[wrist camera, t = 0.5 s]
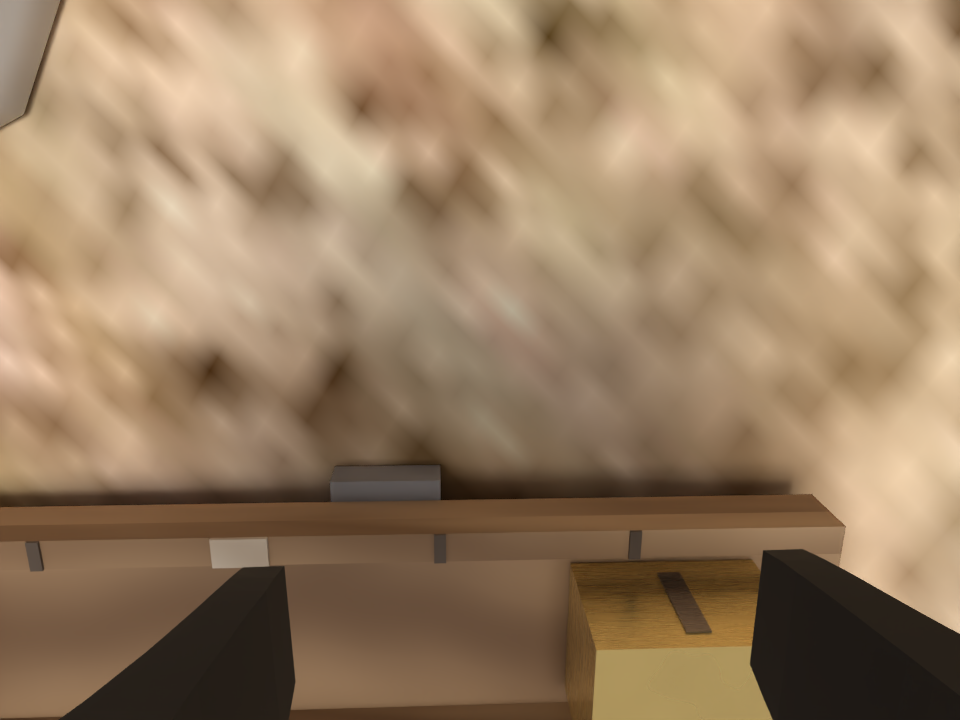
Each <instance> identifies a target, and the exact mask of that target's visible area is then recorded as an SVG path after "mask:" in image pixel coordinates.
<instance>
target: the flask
mask: <svg viewBox="0 0 960 720" xmlns="http://www.w3.org/2000/svg"><path fill="white" fill-rule="evenodd" d="M59 3H60V0H0V127H2V126H4V125H6V124H7V123H9V122H11V121H13V120H15V119H16V118H18V117H20V116H22V115H24V112H25V109H26V106H27V103H28V100H29V96H30V93H31V90H32V87H33V84H34V81H35V78H36V75H37V72H38V68H39V65H40V62H41V59H42V56H43V53H44V50H45V47H46V43H47V40H48V37H49V34H50V31H51V28H52V25H53V22H54V19H55V15H56V12H57V9H58V6H59Z"/></svg>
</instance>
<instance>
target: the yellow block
mask: <svg viewBox="0 0 960 720" xmlns="http://www.w3.org/2000/svg"><path fill="white" fill-rule="evenodd" d="M760 572H761V571H760V570H759V568H758V567H757V566H756V564H755V563H754V562H753V560H710V561H660V562H610V563H570V581H569V602H568V623H567V643H566V664H565V685H564V686H565V691H566V695H567V700H568V705H569V709H570V714H571V718H572V720H773V719H772V717H771V715H770V712H769V710H768V708H767V705H766V703H765V701H764V698H763V696H762V693H761V691H760V688H759V686H758V683H757V681H756V678H755V676H754V673H753V671H752V668H751V666H750V657H751V649H752V640H753V632H754V623H755V615H756V606H757V598H758V589H759V581H760Z"/></svg>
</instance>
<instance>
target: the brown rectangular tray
mask: <svg viewBox="0 0 960 720" xmlns="http://www.w3.org/2000/svg"><path fill="white" fill-rule="evenodd" d="M330 494H331V502H297V503H233V504H170V505H107V506H44V507H0V720H59V719H60V718H61V717H63V716H64V715H66V714H67V713H69V712H70V711H71V710H73V709H74V708H75V707H77V706H78V705H79V704H81V703H82V702H83V701H85V700H86V699H88V698H89V697H90V696H91V695H93V694H94V693H95V692H96V691H98V690H99V689H100V688H101V687H103V686H104V685H105V684H106V683H108V682H109V681H110V680H111V679H113V678H114V677H115V676H117V675H118V674H119V673H120V672H122V671H123V670H124V669H125V668H127V667H128V666H129V665H130V664H132V663H133V662H134V661H135V660H137V659H138V658H139V657H140V656H142V655H143V654H144V653H145V652H147V651H148V650H149V649H150V648H151V647H153V646H154V645H155V644H156V643H157V642H158V641H160V640H161V639H162V638H163V637H164V636H165V635H166V634H168V633H169V632H170V631H171V630H172V629H173V628H174V627H176V626H177V625H178V624H179V623H180V622H181V621H182V620H184V619H185V618H186V617H187V616H188V615H189V614H190V613H192V612H193V611H194V610H195V609H196V608H197V607H198V606H199V605H201V604H202V603H203V602H204V601H205V600H206V599H207V598H208V597H209V596H210V595H212V594H213V593H214V592H215V591H216V590H217V589H218V588H219V587H220V586H222V585H223V584H224V583H225V582H226V581H227V580H228V579H229V578H231V577H232V576H233V575H234V574H235V573H236V572H238V571H239V570H240V569H241V568H243V567H265V566H284V567H285V577H286V588H287V598H288V608H289V619H290V629H291V639H292V650H293V660H294V670H295V680H296V682H295V688H294V694H293V699H292V705H291V710H290V716H289V720H572V718H571V714H570V709H569V705H568V700H567V695H566V691H565V686H564V685H565V664H566V643H567V623H568V602H569V581H570V563H610V562H660V561H710V560H753V562H754V563H755V564H756V566H757V567H758V568H759V570H760V571H761V564H762V555H763V550H786V549H804V550H806V551H808V552H810V553H813V554H815V555H817V556H819V557H821V558H823V559H825V560H827V561H829V562H831V563H832V564H834V565H836V566H838V567H839V563H840V557H841V551H842V546H843V540H844V534H845V528H846V526H845V525H844V524H843V523H841V522H840V521H839V520H838V519H837V518H836V517H835V516H834V515H833V514H832V513H831V512H830V511H829V510H828V509H827V508H826V507H825V506H824V505H822V504H821V503H820V502H819V501H818V500H817V499H816V498H815V497H814V496H813V495H812V494H802V495H739V496H676V497H613V498H550V499H486V500H441V470H440V465H401V466H335V468H334V471H333V474H332V477H331V480H330Z"/></svg>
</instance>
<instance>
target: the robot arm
mask: <svg viewBox="0 0 960 720" xmlns="http://www.w3.org/2000/svg"><path fill="white" fill-rule="evenodd" d="M750 666H751V668H752V671H753V673H754V676H755V678H756V681H757V683H758V686H759V688H760V691H761V693H762V696H763V698H764V701H765V703H766V705H767V708H768V710H769V712H770V715H771V717H772V719H773V720H960V634H959V633H957V632H955V631H953V630H951V629H949V628H948V627H946V626H944V625H942V624H940V623H938V622H936V621H935V620H933V619H931V618H929V617H927V616H926V615H924V614H922V613H920V612H918V611H917V610H915V609H913V608H911V607H909V606H908V605H906V604H904V603H902V602H900V601H899V600H897V599H895V598H893V597H892V596H890V595H888V594H886V593H884V592H883V591H881V590H879V589H877V588H876V587H874V586H872V585H870V584H869V583H867V582H865V581H863V580H861V579H860V578H858V577H856V576H854V575H853V574H851V573H849V572H847V571H845V570H843V569H842V568H840V567H838V566H836V565H834V564H832V563H831V562H829V561H827V560H825V559H823V558H821V557H819V556H817V555H815V554H813V553H810V552H808V551H806V550H804V549H786V550H763V555H762V564H761V572H760V581H759V589H758V598H757V606H756V615H755V623H754V632H753V640H752V649H751V657H750ZM295 682H296V680H295V670H294V660H293V650H292V639H291V629H290V619H289V608H288V598H287V588H286V577H285V567H284V566H265V567H243V568H241V569H240V570H239V571H238V572H236V573H235V574H234V575H233V576H232V577H231V578H229V579H228V580H227V581H226V582H225V583H224V584H223V585H222V586H220V587H219V588H218V589H217V590H216V591H215V592H214V593H213V594H212V595H210V596H209V597H208V598H207V599H206V600H205V601H204V602H203V603H202V604H201V605H199V606H198V607H197V608H196V609H195V610H194V611H193V612H192V613H190V614H189V615H188V616H187V617H186V618H185V619H184V620H182V621H181V622H180V623H179V624H178V625H177V626H176V627H174V628H173V629H172V630H171V631H170V632H169V633H168V634H166V635H165V636H164V637H163V638H162V639H161V640H160V641H158V642H157V643H156V644H155V645H154V646H153V647H151V648H150V649H149V650H148V651H147V652H145V653H144V654H143V655H142V656H140V657H139V658H138V659H137V660H135V661H134V662H133V663H132V664H130V665H129V666H128V667H127V668H125V669H124V670H123V671H122V672H120V673H119V674H118V675H117V676H115V677H114V678H113V679H111V680H110V681H109V682H108V683H106V684H105V685H104V686H103V687H101V688H100V689H99V690H98V691H96V692H95V693H94V694H93V695H91V696H90V697H89V698H88V699H86V700H85V701H83V702H82V703H81V704H79V705H78V706H77V707H75V708H74V709H73V710H71V711H70V712H69V713H67V714H66V715H64V716H63V717H61V718H60V719H59V720H289V716H290V710H291V705H292V699H293V694H294V688H295Z"/></svg>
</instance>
